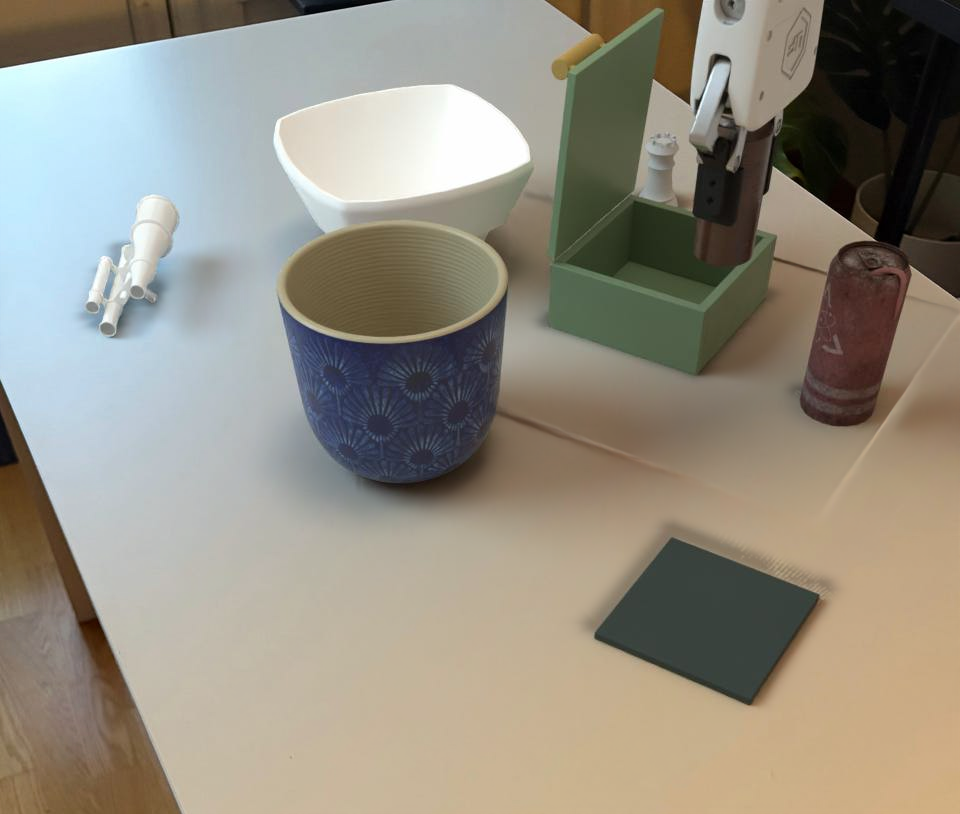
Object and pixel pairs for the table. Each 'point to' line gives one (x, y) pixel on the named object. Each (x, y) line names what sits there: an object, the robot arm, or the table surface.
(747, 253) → the brown cylinder
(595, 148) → the lid
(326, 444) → the planter
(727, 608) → the mat
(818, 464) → the table surface
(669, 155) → the rook chess piece
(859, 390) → the can
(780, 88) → the robot arm
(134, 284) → the white plastic piece
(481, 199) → the bowl
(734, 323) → the box
